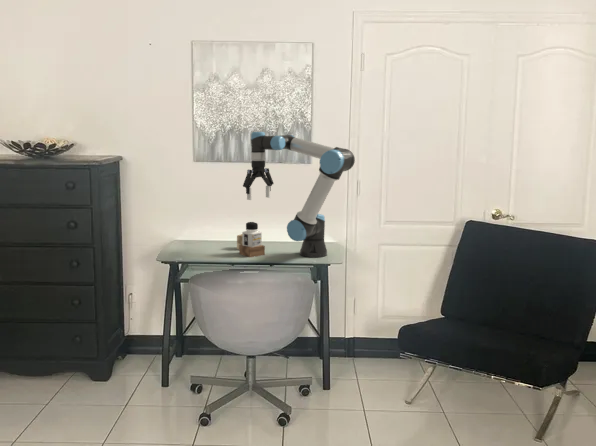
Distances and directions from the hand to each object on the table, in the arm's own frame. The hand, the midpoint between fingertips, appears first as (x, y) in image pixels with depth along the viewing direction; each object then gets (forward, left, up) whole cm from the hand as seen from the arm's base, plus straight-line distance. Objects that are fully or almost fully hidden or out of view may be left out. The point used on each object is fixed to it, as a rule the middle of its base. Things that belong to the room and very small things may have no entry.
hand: (258, 198), depth 353 cm
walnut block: (-2, +6, -30) cm, 31 cm away
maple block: (+12, +1, -31) cm, 33 cm away
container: (-2, +6, -26) cm, 26 cm away
